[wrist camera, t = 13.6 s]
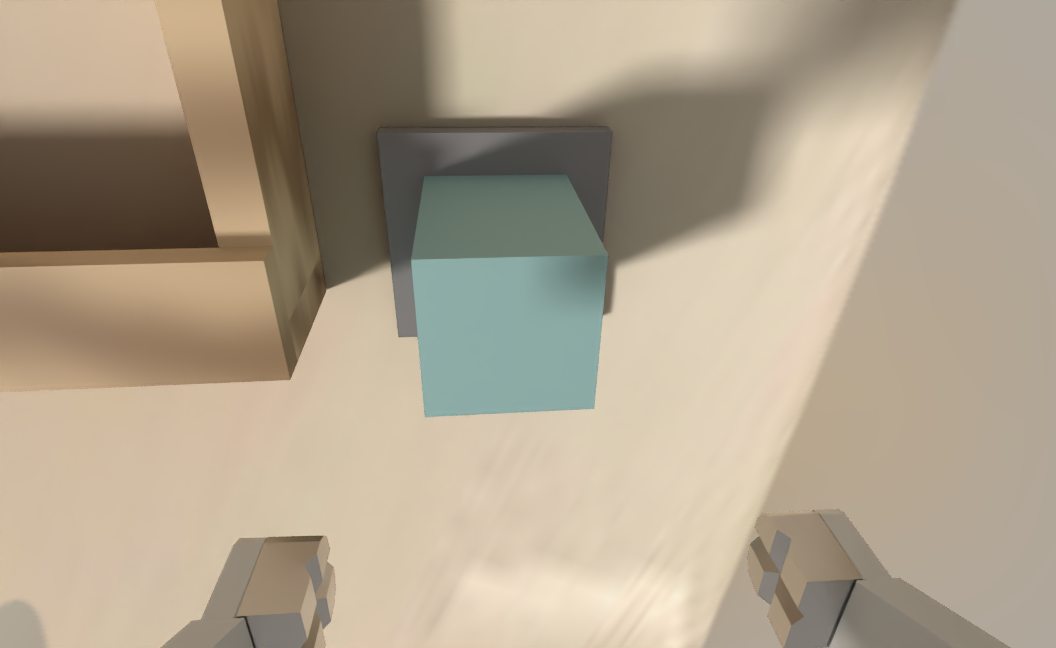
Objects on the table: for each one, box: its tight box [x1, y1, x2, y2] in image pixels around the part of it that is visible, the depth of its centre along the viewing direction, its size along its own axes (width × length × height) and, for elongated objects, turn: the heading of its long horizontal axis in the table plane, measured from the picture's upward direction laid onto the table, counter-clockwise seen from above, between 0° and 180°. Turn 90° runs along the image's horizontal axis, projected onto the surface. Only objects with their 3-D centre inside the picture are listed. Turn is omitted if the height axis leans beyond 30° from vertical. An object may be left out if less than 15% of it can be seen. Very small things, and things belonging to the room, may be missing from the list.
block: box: [411, 174, 608, 417], centre depth 20 cm, size 5×5×7 cm
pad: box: [377, 127, 612, 337], centre depth 23 cm, size 8×8×1 cm
